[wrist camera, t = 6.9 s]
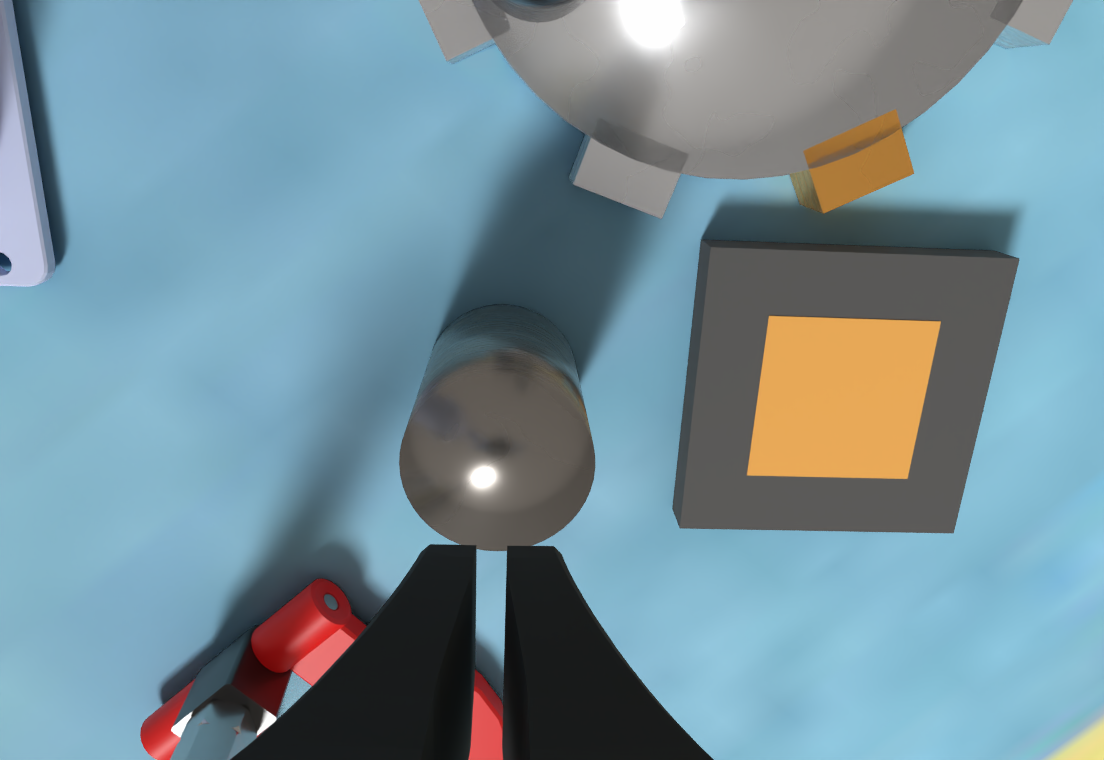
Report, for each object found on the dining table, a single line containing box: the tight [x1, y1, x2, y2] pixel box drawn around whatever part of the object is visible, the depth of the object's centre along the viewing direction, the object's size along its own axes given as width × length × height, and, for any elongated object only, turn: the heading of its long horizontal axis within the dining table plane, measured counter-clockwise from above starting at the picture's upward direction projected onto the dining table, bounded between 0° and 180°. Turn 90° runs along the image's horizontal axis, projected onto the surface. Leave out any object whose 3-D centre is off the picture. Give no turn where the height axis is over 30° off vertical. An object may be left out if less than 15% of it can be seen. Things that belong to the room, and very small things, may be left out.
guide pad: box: [672, 240, 1019, 533], centre depth 19 cm, size 7×7×1 cm
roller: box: [399, 304, 595, 551], centre depth 17 cm, size 4×4×5 cm
